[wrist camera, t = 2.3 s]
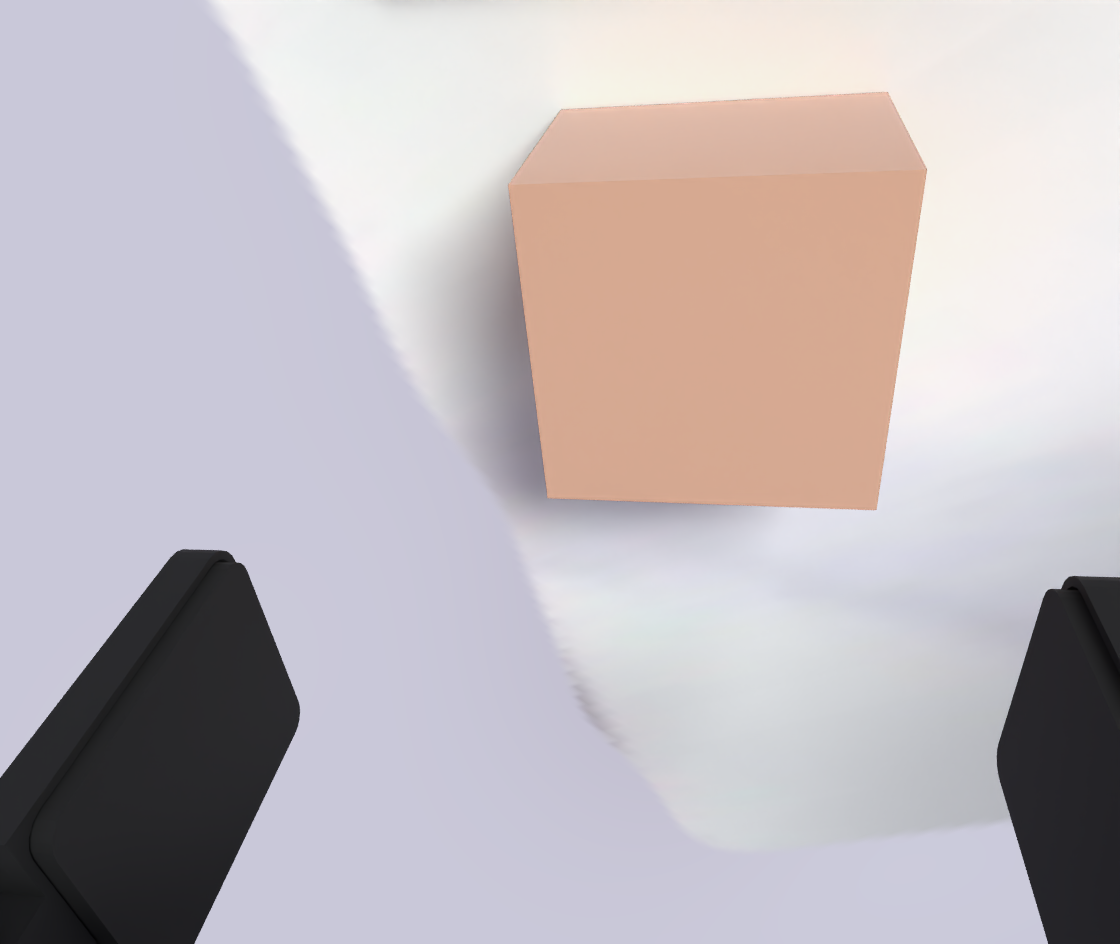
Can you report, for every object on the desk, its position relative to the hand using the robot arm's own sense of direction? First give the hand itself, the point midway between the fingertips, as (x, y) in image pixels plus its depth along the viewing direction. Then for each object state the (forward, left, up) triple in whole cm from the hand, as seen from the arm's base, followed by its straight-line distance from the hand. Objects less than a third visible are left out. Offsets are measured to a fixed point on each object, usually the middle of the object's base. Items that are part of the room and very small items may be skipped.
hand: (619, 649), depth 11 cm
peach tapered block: (-1, 0, -12) cm, 12 cm away
